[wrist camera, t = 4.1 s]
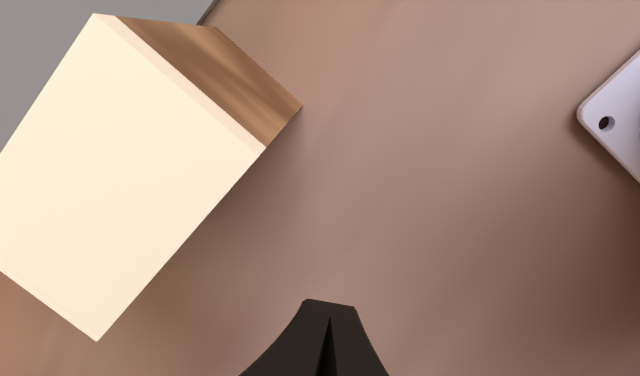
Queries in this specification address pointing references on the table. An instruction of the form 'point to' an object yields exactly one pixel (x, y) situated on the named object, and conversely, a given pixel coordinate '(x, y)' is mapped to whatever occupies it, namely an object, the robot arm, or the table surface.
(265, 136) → the brown and cream block
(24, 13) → the mat
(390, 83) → the table surface
